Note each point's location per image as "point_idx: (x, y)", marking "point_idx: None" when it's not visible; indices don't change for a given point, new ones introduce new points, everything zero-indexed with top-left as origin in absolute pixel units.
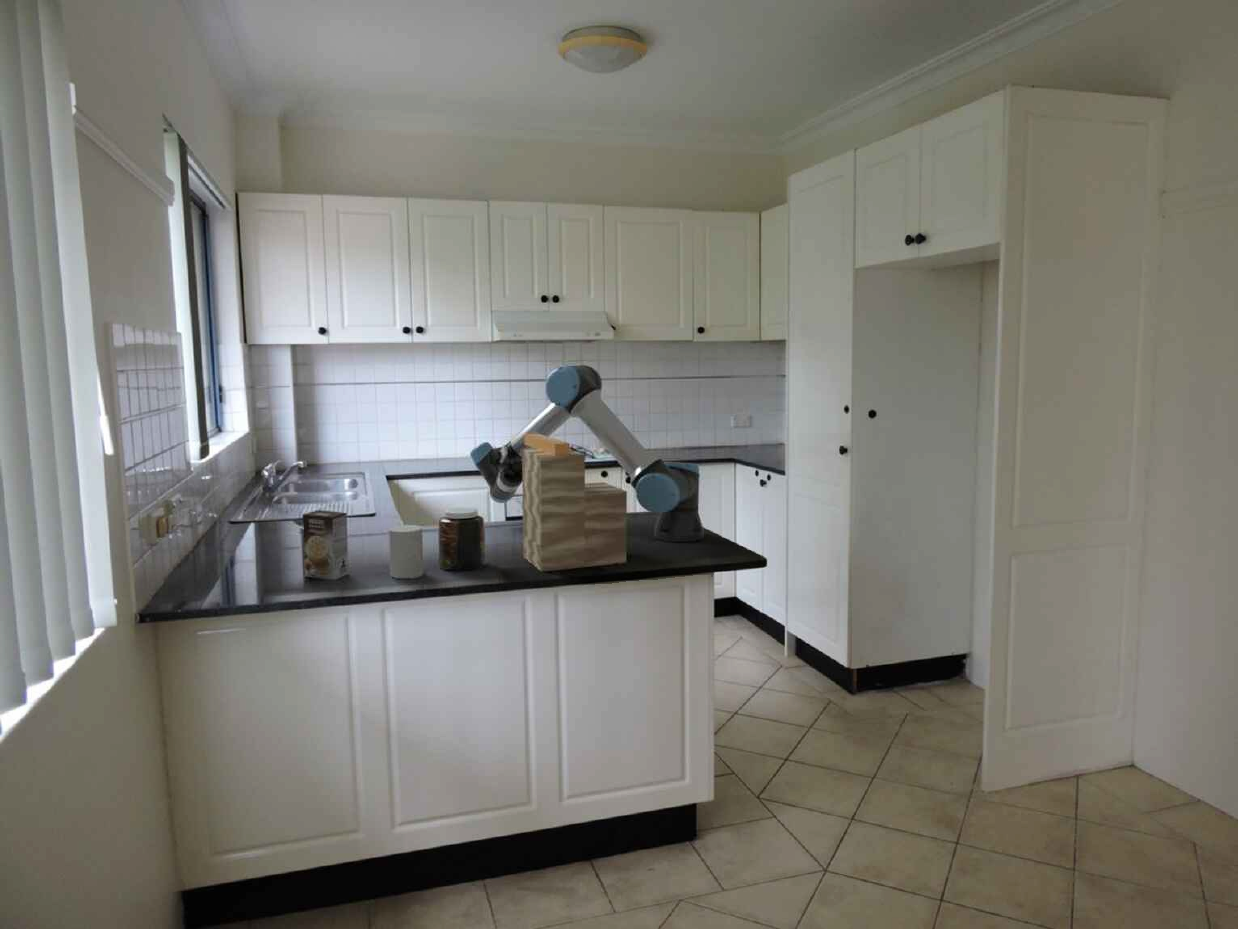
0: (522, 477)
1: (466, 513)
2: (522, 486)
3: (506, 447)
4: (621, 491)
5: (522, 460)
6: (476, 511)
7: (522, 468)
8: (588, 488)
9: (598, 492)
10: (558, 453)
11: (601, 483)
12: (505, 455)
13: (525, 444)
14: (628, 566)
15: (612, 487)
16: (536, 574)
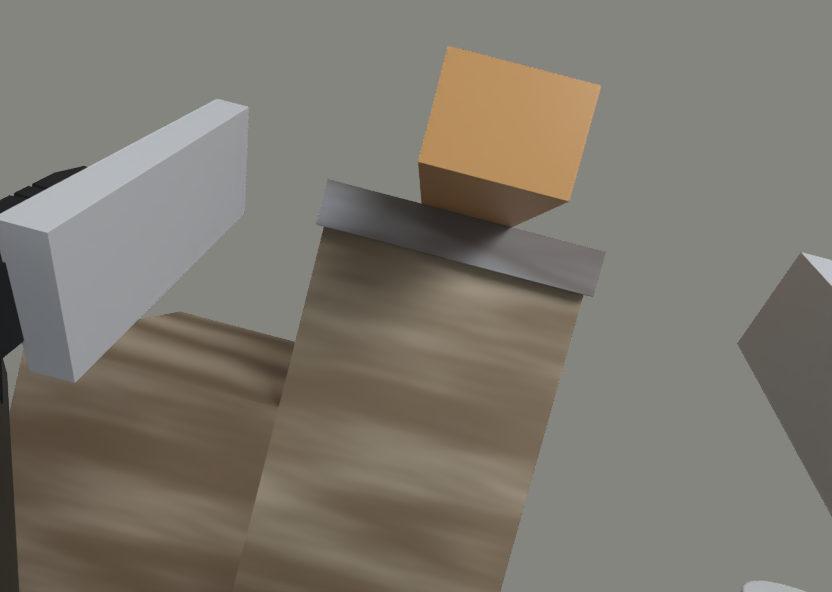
0: (549, 415)
1: (776, 584)
2: (534, 468)
3: (782, 281)
4: (195, 316)
5: (575, 315)
6: (742, 588)
7: (563, 362)
8: (245, 356)
9: (274, 339)
10: None
11: None
12: (768, 380)
13: (562, 200)
14: None
15: (145, 325)
16: None
